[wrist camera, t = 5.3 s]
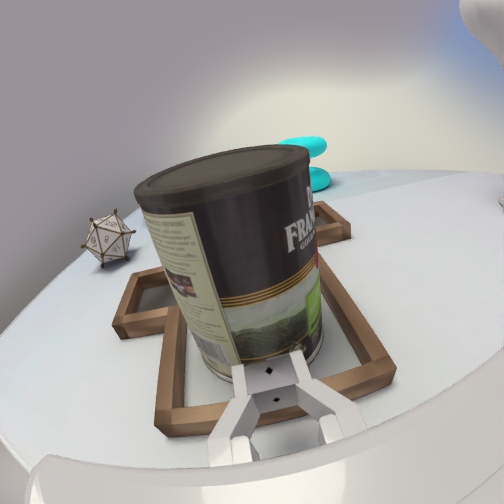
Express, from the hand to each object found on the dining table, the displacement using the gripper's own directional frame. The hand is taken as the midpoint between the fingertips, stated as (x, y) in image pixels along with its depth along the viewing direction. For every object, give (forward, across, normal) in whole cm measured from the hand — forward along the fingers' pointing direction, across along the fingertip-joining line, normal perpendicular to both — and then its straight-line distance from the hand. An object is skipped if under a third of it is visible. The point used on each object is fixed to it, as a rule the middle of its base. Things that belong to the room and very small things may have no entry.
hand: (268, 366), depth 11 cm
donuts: (+45, -16, +7) cm, 48 cm away
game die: (+31, +20, +7) cm, 37 cm away
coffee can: (+9, 0, +7) cm, 11 cm away
